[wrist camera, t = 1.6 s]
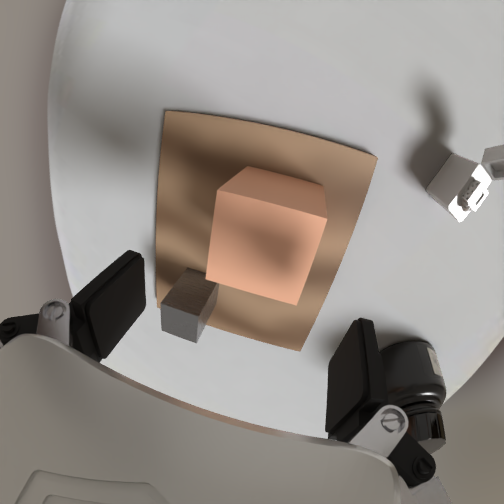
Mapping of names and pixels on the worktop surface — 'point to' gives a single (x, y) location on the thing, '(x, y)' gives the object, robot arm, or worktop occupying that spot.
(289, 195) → the salmon orange block
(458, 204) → the lighter
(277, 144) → the base board
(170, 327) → the post
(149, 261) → the worktop surface
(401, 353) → the ink bottle
